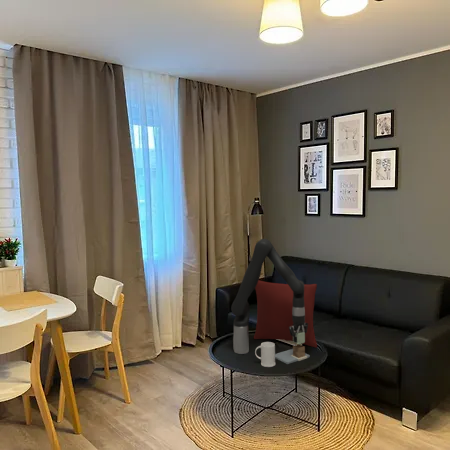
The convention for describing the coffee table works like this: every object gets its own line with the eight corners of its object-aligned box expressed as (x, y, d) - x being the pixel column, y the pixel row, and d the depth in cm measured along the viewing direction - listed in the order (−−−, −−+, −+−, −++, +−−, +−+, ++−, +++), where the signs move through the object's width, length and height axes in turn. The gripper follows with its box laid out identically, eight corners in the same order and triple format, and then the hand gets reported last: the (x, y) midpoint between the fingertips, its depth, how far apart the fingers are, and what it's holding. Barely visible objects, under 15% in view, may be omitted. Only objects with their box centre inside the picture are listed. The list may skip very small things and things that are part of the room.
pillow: (320, 343, 287) (320, 281, 283) (314, 351, 274) (314, 286, 270) (258, 335, 305) (257, 276, 302) (250, 342, 292) (249, 281, 288)
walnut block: (293, 355, 265) (292, 346, 264) (299, 353, 267) (299, 344, 267) (298, 358, 260) (298, 348, 260) (304, 356, 263) (304, 346, 263)
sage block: (293, 341, 264) (292, 332, 263) (299, 340, 267) (299, 330, 266) (298, 344, 260) (298, 334, 259) (304, 342, 262) (304, 332, 262)
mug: (253, 365, 254) (253, 345, 253) (257, 360, 262) (256, 340, 261) (274, 367, 250) (273, 347, 249) (276, 361, 258) (276, 342, 257)
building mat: (271, 356, 267) (271, 354, 266) (293, 349, 276) (293, 348, 276) (287, 364, 255) (287, 362, 254) (310, 357, 264) (310, 355, 264)
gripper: (302, 310, 269) (303, 337, 270) (285, 314, 261) (285, 342, 262) (311, 313, 262) (311, 340, 264) (294, 317, 254) (294, 345, 256)
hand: (298, 341), depth 263 cm, fingers closed on sage block, 5 cm apart
